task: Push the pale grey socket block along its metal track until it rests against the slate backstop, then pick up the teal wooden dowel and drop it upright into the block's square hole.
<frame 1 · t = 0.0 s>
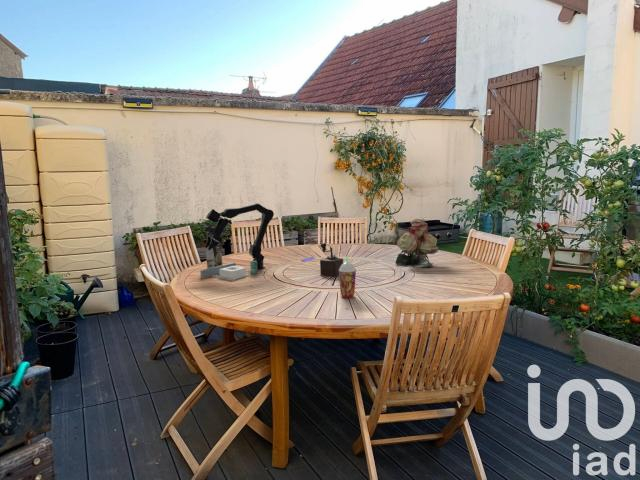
hand: (207, 248, 267), 16 cm above the table, tool tilted 35°, fingers open, 8 cm apart
black box with stems: (328, 274, 265), on the table
dowel: (254, 274, 267), on the table
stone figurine: (417, 264, 287), on the table
backstop: (219, 274, 268), on the table
coffee box: (215, 270, 277), on the table, touching gripper
booklet: (320, 261, 303), on the table
socket block: (232, 272, 260), point 3 cm above the table, slide at 0.0 cm
smoothie: (347, 297, 216), on the table
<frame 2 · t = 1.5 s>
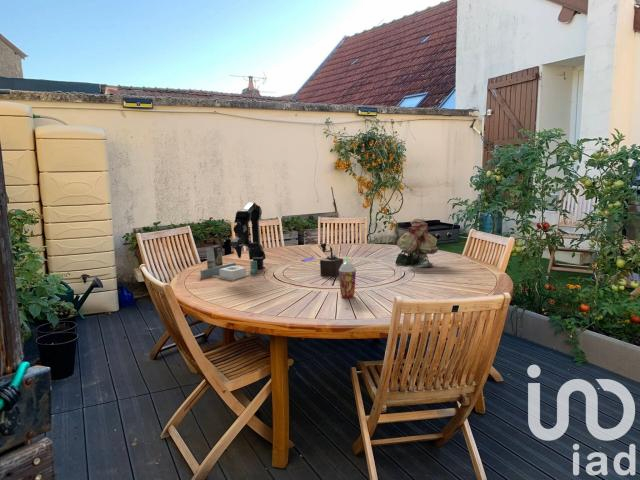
hand: (245, 259, 252), 12 cm above the table, tool pointing down, fingers open, 9 cm apart
coffee box: (215, 271, 277), on the table
everything else where it was.
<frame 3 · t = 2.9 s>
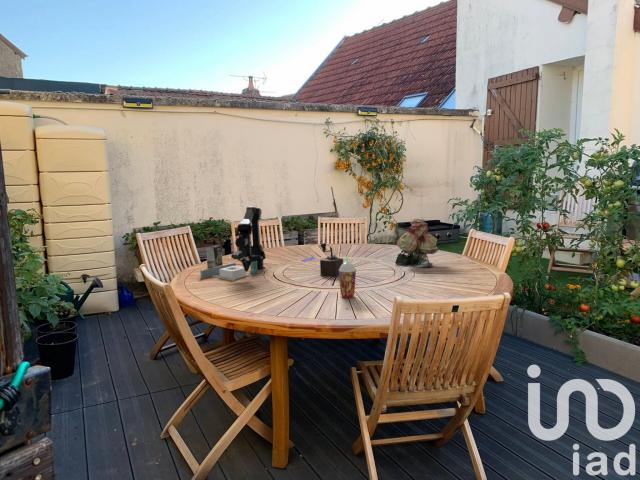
hand: (246, 271, 253), 5 cm above the table, tool pointing down, fingers closed
nothing on the table moved.
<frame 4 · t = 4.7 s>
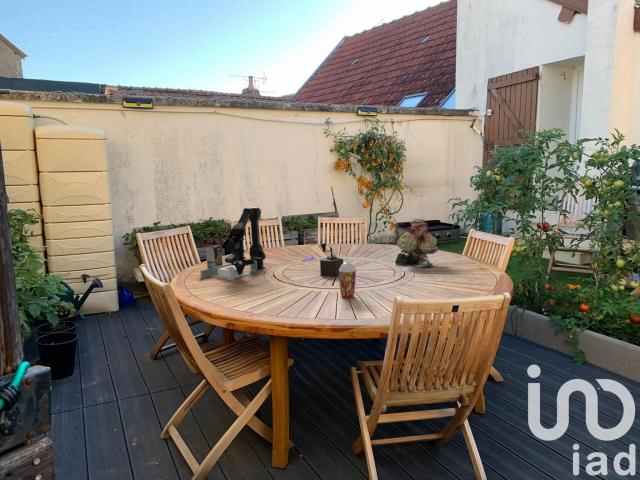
hand: (239, 275, 257), 2 cm above the table, tool pointing down, fingers closed
socket block: (231, 272, 261), point 3 cm above the table, slide at 1.6 cm, touching gripper
everything else where it was.
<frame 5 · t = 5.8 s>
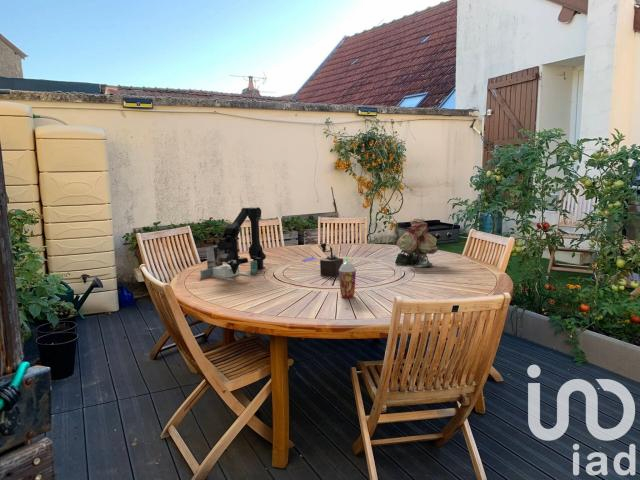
hand: (234, 273, 260), 2 cm above the table, tool pointing down, fingers closed
socket block: (226, 271, 264), point 3 cm above the table, slide at 6.0 cm, touching backstop, gripper
everything else where it was.
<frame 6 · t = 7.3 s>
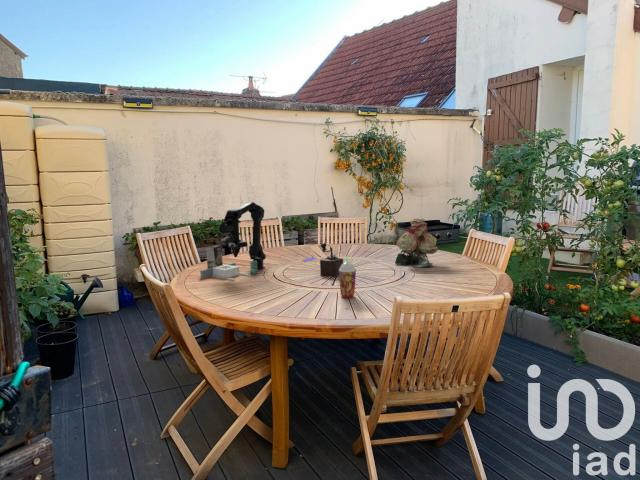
hand: (235, 257, 260), 12 cm above the table, tool pointing down, fingers closed
socket block: (226, 271, 264), point 3 cm above the table, slide at 6.0 cm
everything else where it was.
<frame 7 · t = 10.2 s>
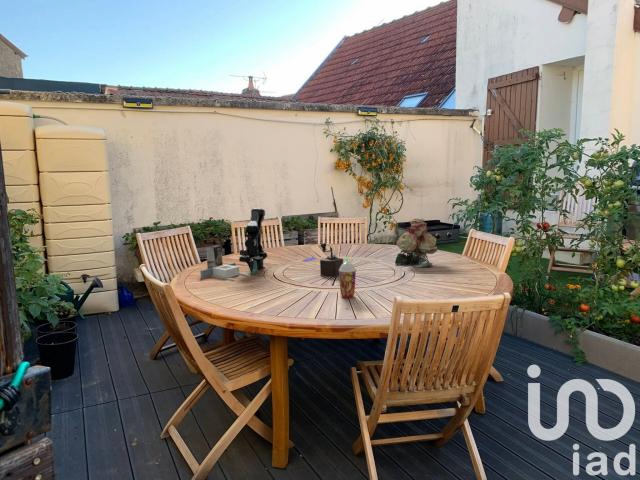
hand: (254, 270, 267), 2 cm above the table, tool pointing down, fingers closed on dowel, 4 cm apart
dowel: (254, 274, 267), on the table, touching gripper
when the fingers open (6 cm above the table, at t = 14.2 s): dowel drops 3 cm, resting on socket block.
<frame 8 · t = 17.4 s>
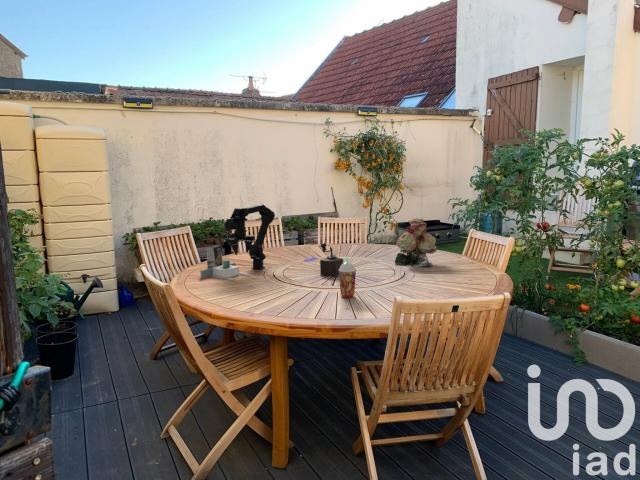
hand: (241, 253, 270), 12 cm above the table, tool pointing down, fingers open, 9 cm apart
dowel: (226, 273, 264), point 1 cm above the table, touching socket block
socket block: (226, 271, 264), point 3 cm above the table, slide at 6.0 cm, touching dowel
at the end: socket block slide at 6.0 cm; dowel 0.3 cm off-centre on the socket block, point 1.1 cm above the socket block's base; dowel tilted 2° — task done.
